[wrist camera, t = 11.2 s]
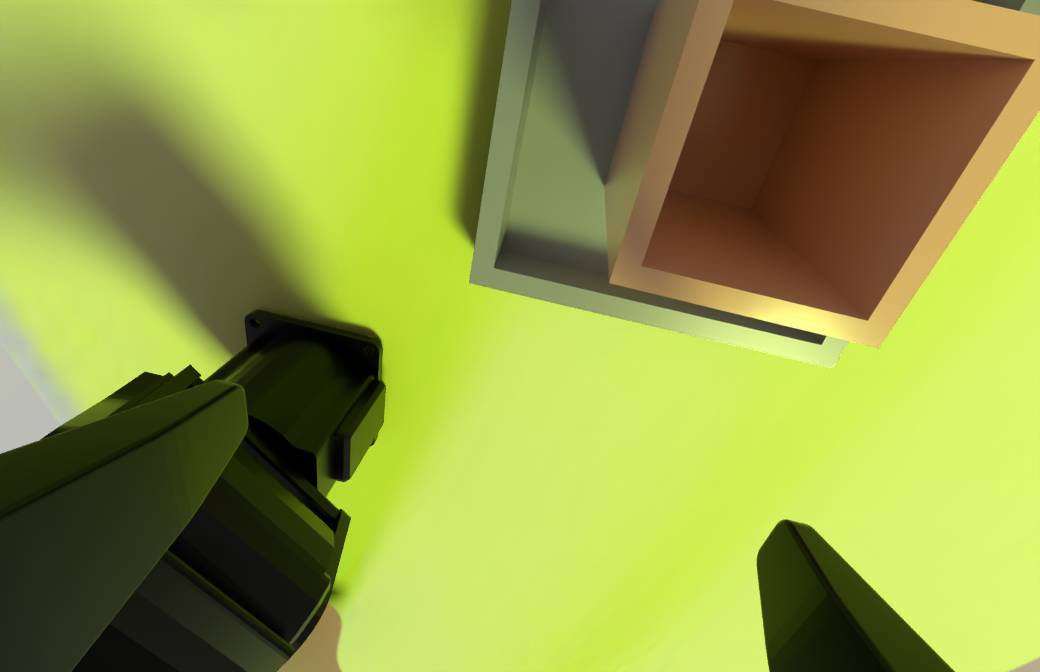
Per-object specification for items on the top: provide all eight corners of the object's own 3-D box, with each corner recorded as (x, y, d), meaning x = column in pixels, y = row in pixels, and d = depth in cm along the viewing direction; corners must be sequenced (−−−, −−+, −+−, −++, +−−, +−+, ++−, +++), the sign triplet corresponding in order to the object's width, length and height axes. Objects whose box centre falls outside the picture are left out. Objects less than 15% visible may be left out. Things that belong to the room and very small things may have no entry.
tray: (482, 259, 20) (469, 283, 18) (556, -196, 14) (548, -246, 11) (806, 335, 20) (832, 368, 18) (1050, -93, 13) (1139, -124, 11)
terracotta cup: (604, 186, 18) (608, 282, 10) (655, 6, 15) (717, -57, 7) (754, 222, 18) (878, 348, 10) (833, 47, 15) (1095, 28, 7)
